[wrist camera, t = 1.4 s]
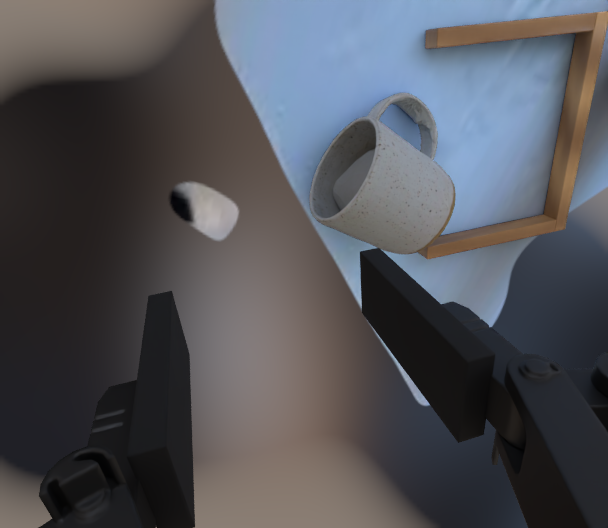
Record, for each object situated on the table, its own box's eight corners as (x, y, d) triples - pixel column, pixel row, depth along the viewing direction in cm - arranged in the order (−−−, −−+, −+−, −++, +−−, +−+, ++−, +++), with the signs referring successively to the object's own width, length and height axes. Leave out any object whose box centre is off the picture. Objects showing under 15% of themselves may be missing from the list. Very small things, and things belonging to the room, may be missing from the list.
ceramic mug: (379, 240, 35) (427, 279, 28) (297, 202, 32) (329, 237, 25) (446, 123, 32) (517, 136, 26) (365, 68, 29) (421, 66, 22)
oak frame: (425, 29, 29) (437, 28, 28) (591, 13, 32) (610, 10, 30) (417, 252, 37) (427, 259, 35) (551, 223, 40) (565, 229, 38)
